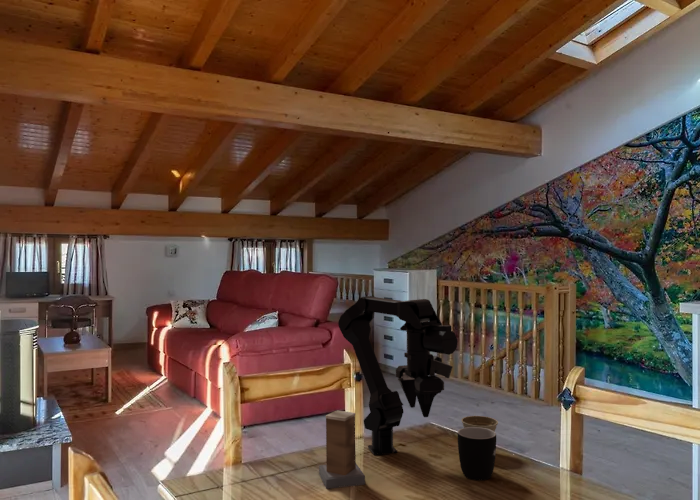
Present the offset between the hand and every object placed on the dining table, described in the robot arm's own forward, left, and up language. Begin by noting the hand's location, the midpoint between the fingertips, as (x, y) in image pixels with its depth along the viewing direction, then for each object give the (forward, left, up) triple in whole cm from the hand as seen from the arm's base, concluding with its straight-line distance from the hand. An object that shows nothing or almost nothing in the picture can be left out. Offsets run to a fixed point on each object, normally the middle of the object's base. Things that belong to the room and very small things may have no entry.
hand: (419, 412), depth 143 cm
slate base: (+4, -21, -13) cm, 25 cm away
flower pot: (-3, +18, -13) cm, 23 cm away
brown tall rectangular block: (+4, -21, -11) cm, 24 cm away
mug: (+9, +11, -13) cm, 19 cm away
